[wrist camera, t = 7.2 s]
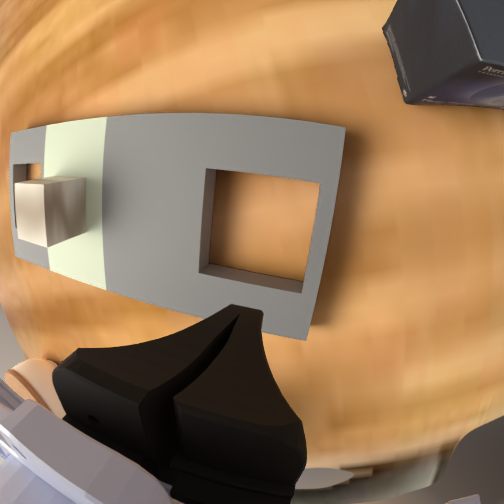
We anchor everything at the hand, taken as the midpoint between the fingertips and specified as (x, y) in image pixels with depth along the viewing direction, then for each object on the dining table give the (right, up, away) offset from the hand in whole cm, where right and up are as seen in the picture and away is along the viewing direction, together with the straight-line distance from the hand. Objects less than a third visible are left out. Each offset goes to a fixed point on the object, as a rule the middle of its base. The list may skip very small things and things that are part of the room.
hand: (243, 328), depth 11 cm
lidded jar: (-29, -16, +22) cm, 39 cm away
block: (-15, +7, +9) cm, 19 cm away
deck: (-10, +7, +10) cm, 16 cm away
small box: (+15, +16, +2) cm, 22 cm away
